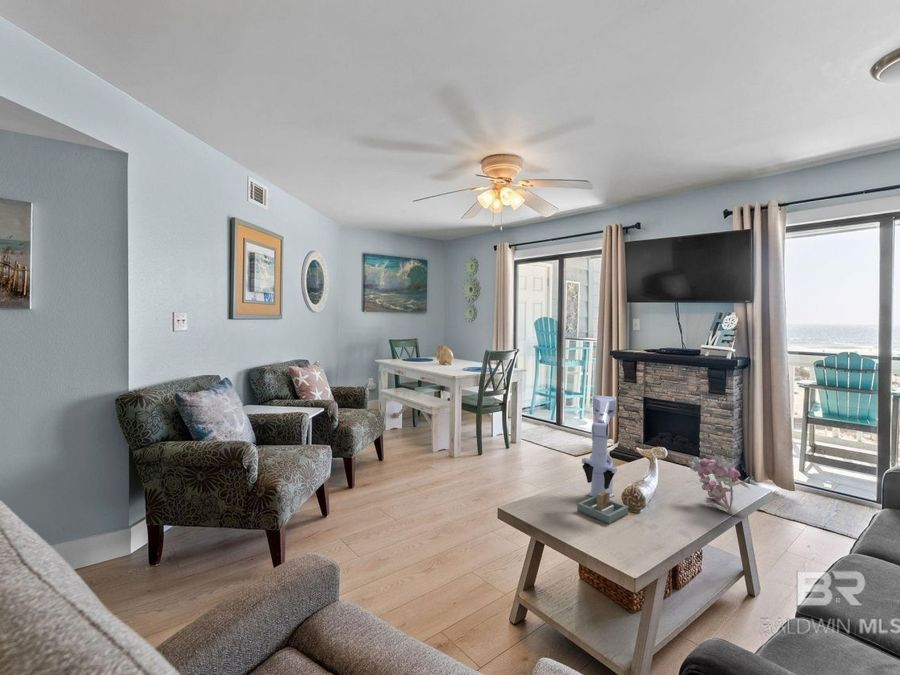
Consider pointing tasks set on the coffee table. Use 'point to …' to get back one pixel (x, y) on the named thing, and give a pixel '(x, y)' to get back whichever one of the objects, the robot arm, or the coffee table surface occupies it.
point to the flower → (717, 478)
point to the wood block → (603, 500)
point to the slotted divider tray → (605, 515)
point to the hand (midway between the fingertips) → (597, 485)
